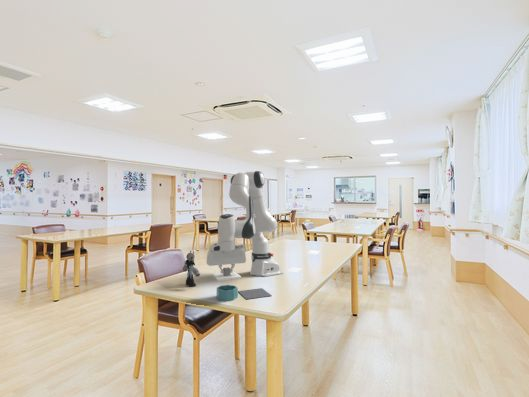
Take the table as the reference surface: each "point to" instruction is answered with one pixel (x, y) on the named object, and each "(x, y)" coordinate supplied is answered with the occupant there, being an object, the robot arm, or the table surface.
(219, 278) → the cover sheet
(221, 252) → the robot arm
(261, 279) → the table surface
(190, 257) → the robot
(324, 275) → the table surface
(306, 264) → the table surface
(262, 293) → the mat
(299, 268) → the table surface
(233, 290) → the bowl
